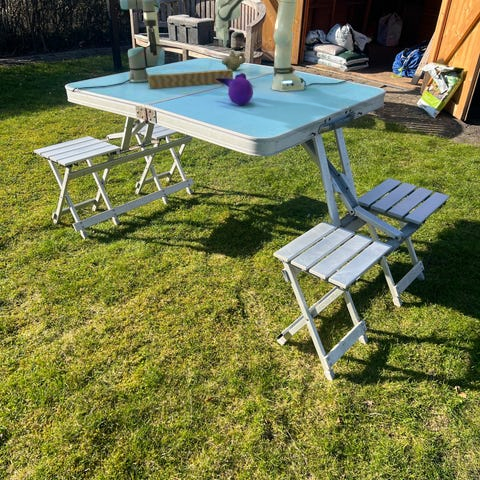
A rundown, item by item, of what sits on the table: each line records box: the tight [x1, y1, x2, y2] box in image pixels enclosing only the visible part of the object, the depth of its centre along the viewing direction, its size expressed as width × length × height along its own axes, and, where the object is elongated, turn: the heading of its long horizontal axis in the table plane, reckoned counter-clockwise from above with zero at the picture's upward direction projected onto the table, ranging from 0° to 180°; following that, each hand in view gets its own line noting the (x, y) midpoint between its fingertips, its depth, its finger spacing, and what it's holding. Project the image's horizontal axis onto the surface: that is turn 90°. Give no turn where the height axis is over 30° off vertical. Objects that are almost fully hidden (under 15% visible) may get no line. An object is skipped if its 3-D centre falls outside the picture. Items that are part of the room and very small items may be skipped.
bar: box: [147, 69, 234, 90], centre depth 322 cm, size 61×6×8 cm, turn 107°
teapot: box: [221, 50, 246, 71], centre depth 368 cm, size 21×12×15 cm, turn 120°
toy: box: [216, 72, 254, 106], centre depth 272 cm, size 16×18×27 cm
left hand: (153, 54), depth 306 cm, fingers open, 13 cm apart
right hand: (222, 46), depth 317 cm, fingers open, 8 cm apart
